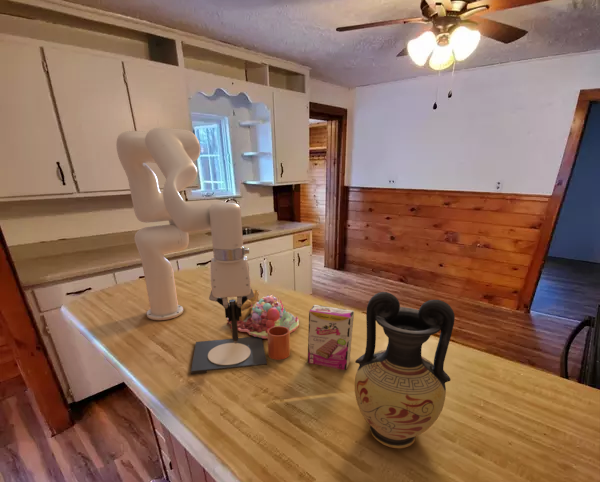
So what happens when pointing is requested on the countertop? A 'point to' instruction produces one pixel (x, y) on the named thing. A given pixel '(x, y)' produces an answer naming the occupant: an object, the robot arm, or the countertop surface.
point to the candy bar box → (330, 336)
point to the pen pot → (278, 342)
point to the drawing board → (228, 354)
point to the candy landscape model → (264, 316)
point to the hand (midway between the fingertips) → (233, 318)
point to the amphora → (403, 369)
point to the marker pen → (233, 320)
